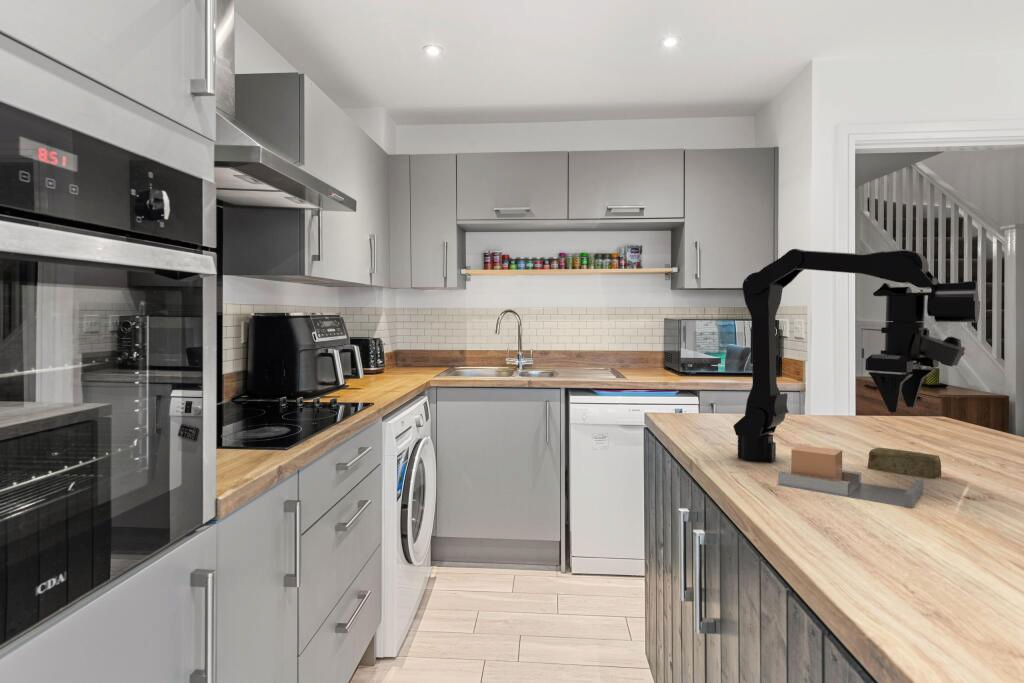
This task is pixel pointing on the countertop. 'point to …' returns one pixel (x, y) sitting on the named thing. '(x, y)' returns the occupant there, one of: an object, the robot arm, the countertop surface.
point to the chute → (853, 488)
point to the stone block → (905, 462)
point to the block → (817, 462)
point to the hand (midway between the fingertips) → (901, 409)
